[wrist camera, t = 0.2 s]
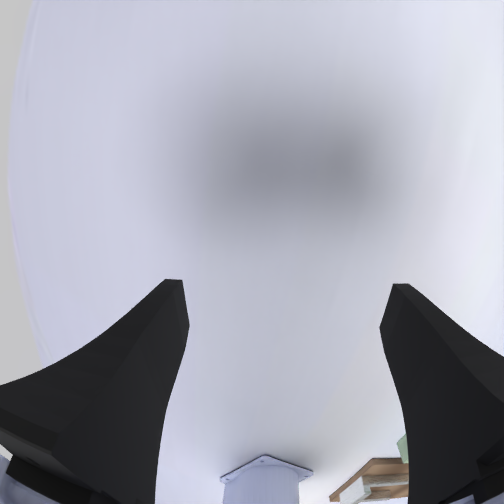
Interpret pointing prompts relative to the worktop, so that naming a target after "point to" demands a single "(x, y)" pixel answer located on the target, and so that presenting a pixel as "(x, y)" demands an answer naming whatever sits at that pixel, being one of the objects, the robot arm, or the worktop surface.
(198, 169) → the worktop surface
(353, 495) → the end caps
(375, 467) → the board
